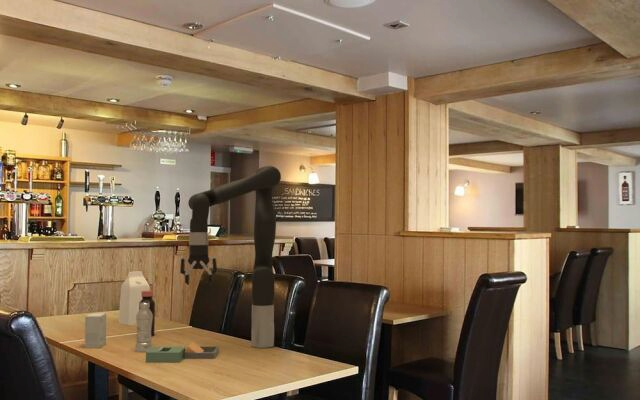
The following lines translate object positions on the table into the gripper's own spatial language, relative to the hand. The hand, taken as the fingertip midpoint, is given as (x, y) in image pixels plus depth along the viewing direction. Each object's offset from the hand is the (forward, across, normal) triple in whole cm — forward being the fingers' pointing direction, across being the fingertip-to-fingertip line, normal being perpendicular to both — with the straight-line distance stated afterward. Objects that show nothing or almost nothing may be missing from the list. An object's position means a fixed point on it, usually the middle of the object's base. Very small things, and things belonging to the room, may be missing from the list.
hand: (198, 284), depth 242 cm
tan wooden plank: (+24, 0, +17) cm, 29 cm away
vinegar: (+27, +29, -35) cm, 52 cm away
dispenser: (+27, +9, +19) cm, 34 cm away
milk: (+27, +43, -69) cm, 85 cm away
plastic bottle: (+27, +21, +4) cm, 34 cm away
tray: (+27, -3, +12) cm, 30 cm away
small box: (+26, +44, -12) cm, 53 cm away
